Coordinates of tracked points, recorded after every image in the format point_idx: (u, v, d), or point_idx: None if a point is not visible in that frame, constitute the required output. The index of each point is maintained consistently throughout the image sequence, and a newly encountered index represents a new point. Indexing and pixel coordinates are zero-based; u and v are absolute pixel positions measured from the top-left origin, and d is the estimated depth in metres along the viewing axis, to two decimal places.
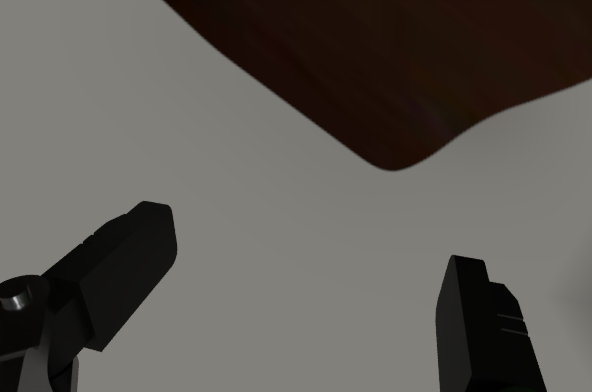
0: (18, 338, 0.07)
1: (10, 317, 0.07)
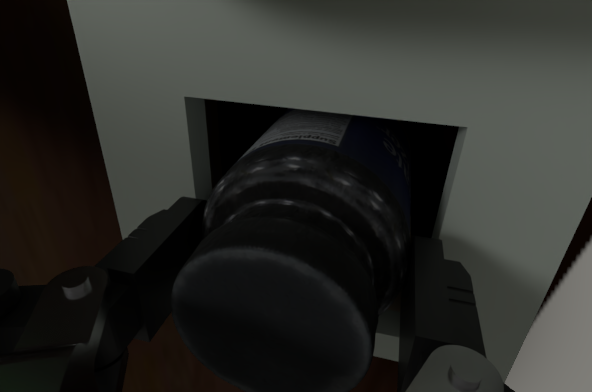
0: (72, 330, 0.07)
1: (68, 307, 0.08)
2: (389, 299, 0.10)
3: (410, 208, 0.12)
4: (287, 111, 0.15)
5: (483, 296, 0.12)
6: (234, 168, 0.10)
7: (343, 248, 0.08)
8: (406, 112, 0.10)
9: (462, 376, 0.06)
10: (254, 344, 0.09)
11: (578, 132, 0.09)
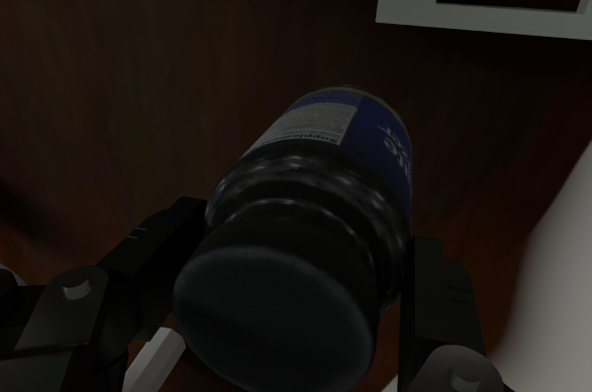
0: (72, 330, 0.07)
1: (68, 307, 0.08)
2: (390, 298, 0.10)
3: (411, 207, 0.12)
4: (288, 110, 0.15)
5: None
6: (235, 167, 0.10)
7: (344, 247, 0.08)
8: None
9: (462, 376, 0.06)
10: (255, 343, 0.09)
11: None
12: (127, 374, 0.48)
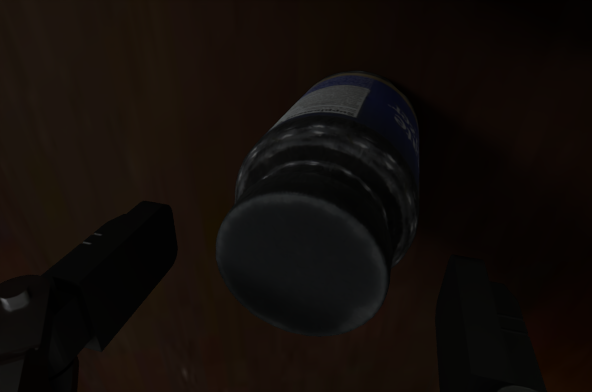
0: (18, 338, 0.07)
1: (10, 317, 0.07)
2: (401, 251, 0.12)
3: None
4: (306, 93, 0.16)
5: None
6: (265, 137, 0.12)
7: (363, 197, 0.10)
8: None
9: None
10: (287, 281, 0.10)
11: None
12: None
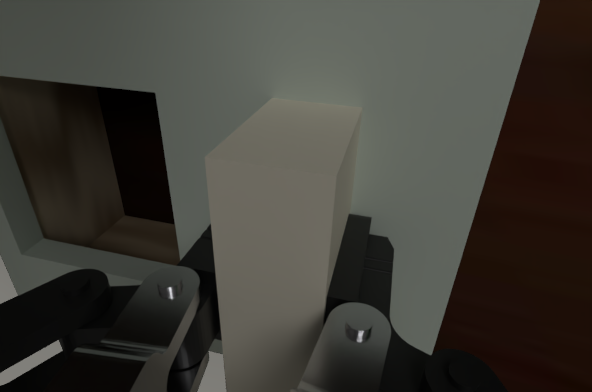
0: (155, 333, 0.07)
1: (158, 306, 0.08)
2: None
3: None
4: None
5: None
6: None
7: None
8: None
9: (356, 327, 0.07)
10: None
11: None
12: None
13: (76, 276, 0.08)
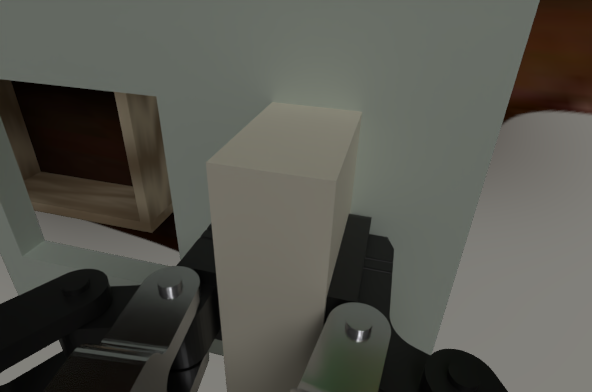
0: (155, 333, 0.07)
1: (158, 306, 0.08)
2: None
3: None
4: None
5: None
6: None
7: None
8: None
9: (356, 327, 0.07)
10: None
11: None
12: None
13: (76, 276, 0.08)
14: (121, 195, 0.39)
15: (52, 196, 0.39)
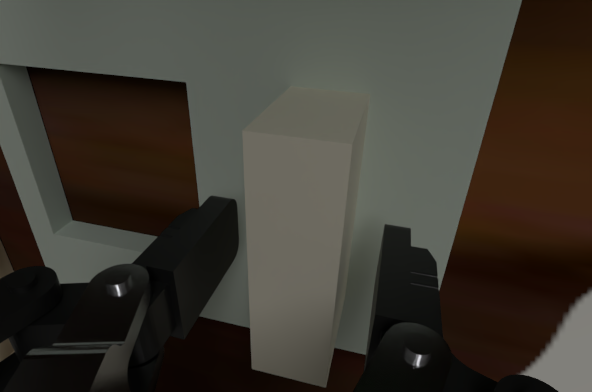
0: (109, 328, 0.07)
1: (108, 304, 0.08)
2: None
3: None
4: None
5: None
6: None
7: None
8: None
9: (414, 350, 0.07)
10: None
11: (213, 306, 0.18)
12: None
13: (22, 274, 0.08)
14: None
15: None
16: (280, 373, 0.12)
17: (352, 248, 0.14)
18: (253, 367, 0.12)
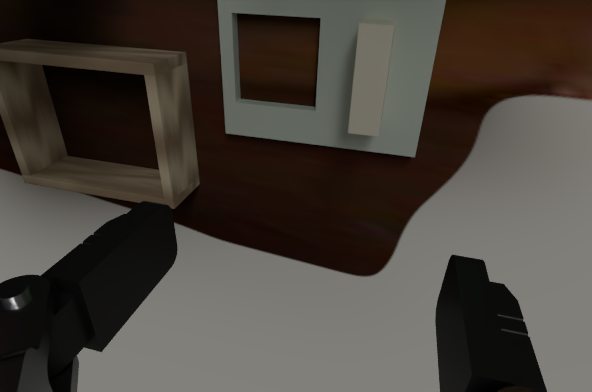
0: (18, 338, 0.07)
1: (10, 317, 0.07)
2: None
3: None
4: None
5: (261, 122, 0.37)
6: None
7: None
8: (318, 94, 0.34)
9: None
10: None
11: (315, 136, 0.36)
12: None
13: None
14: (144, 176, 0.43)
15: (81, 177, 0.42)
16: (360, 132, 0.31)
17: (386, 93, 0.33)
18: (348, 132, 0.31)
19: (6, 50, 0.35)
